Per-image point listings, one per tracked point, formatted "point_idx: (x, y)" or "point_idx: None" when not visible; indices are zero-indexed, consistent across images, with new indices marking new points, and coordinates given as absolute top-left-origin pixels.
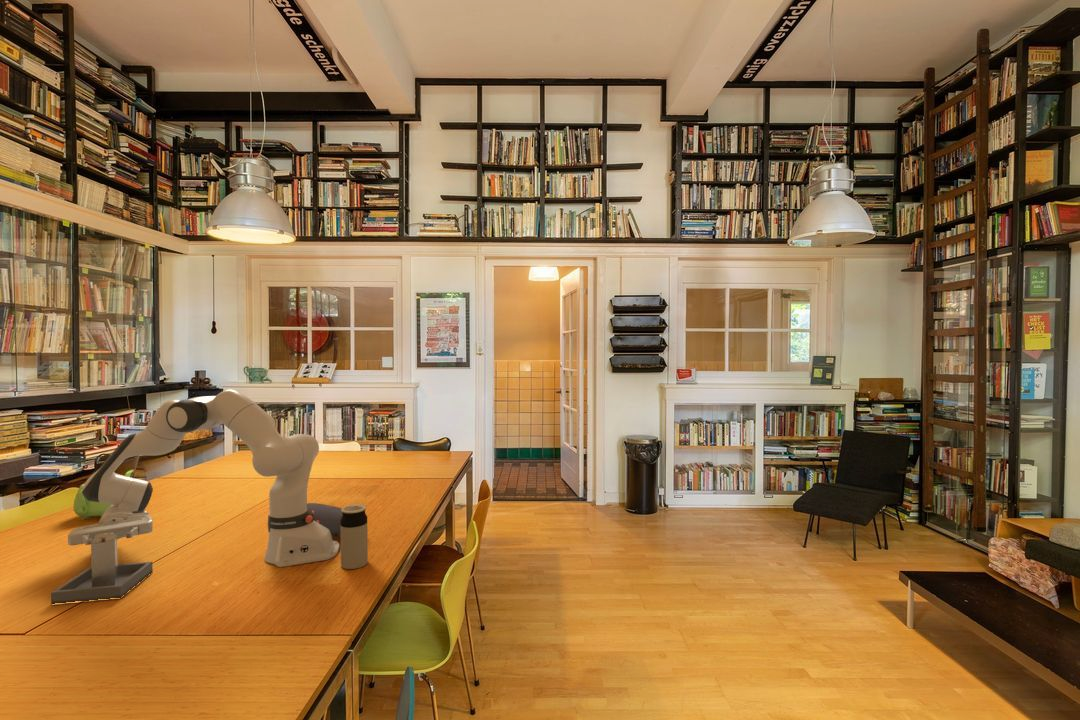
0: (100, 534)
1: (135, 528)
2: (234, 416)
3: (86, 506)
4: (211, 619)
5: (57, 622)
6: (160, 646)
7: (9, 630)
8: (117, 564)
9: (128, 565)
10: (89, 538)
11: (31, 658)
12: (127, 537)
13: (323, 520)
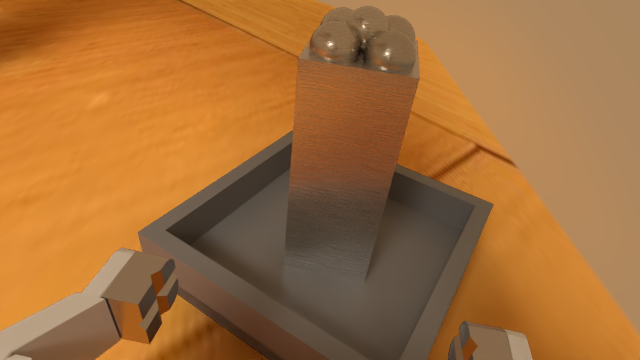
0: (388, 30)
1: (20, 330)
2: None
3: None
4: (204, 36)
5: (427, 148)
6: (282, 34)
7: (522, 176)
8: (287, 211)
9: (229, 274)
10: (492, 337)
11: (433, 85)
12: (170, 282)
13: None
